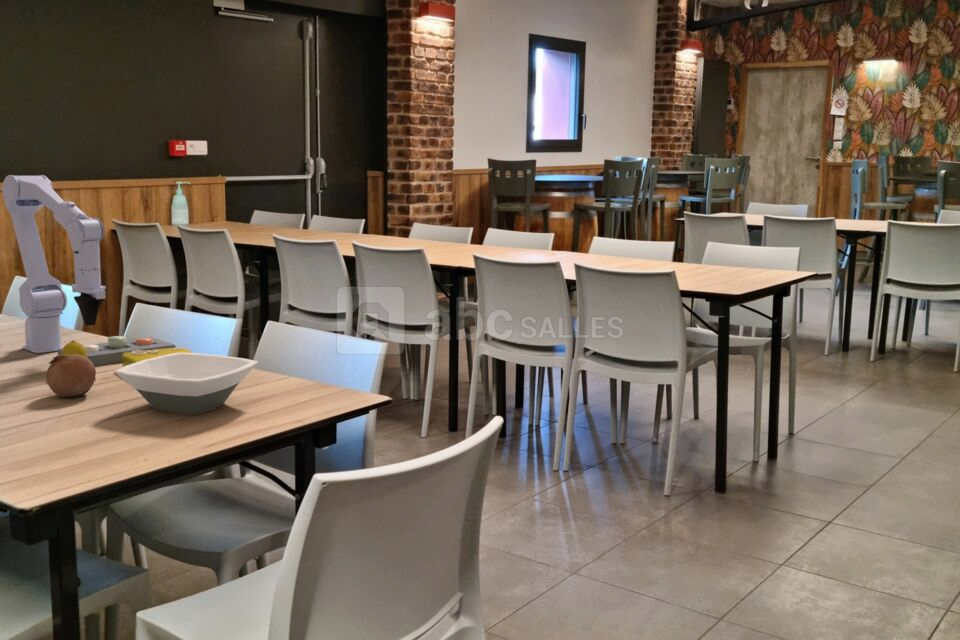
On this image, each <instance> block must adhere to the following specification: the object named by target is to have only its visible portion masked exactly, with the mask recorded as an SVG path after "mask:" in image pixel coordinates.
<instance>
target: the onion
mask: <svg viewBox="0 0 960 640" xmlns="http://www.w3.org/2000/svg"><path fill="white" fill-rule="evenodd" d="M49 364H50V365H49ZM48 365H49V366H48V367H47V370H46V376H45V378H46V383H47V385H48V387H49V389H50V390H51V391H52V392H53V393H54V394H56V395H57V396H59V397H62V398H65V399H66V398H72V397H73V398H74V397H83V396H84V395H85V394H87V393H88V392H89V391H90V390H91V389H92V387H93V385H94V383H95V382H96V375H97V371H96V367H95V366H94V365H93V363H92V362H91V361H90V360H89V359H88V358H87V357H85V356H82V355H66V354H63V355H58V354H57V355H56V356H55V357H52V360H51V361H50V362H48Z"/></svg>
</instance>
